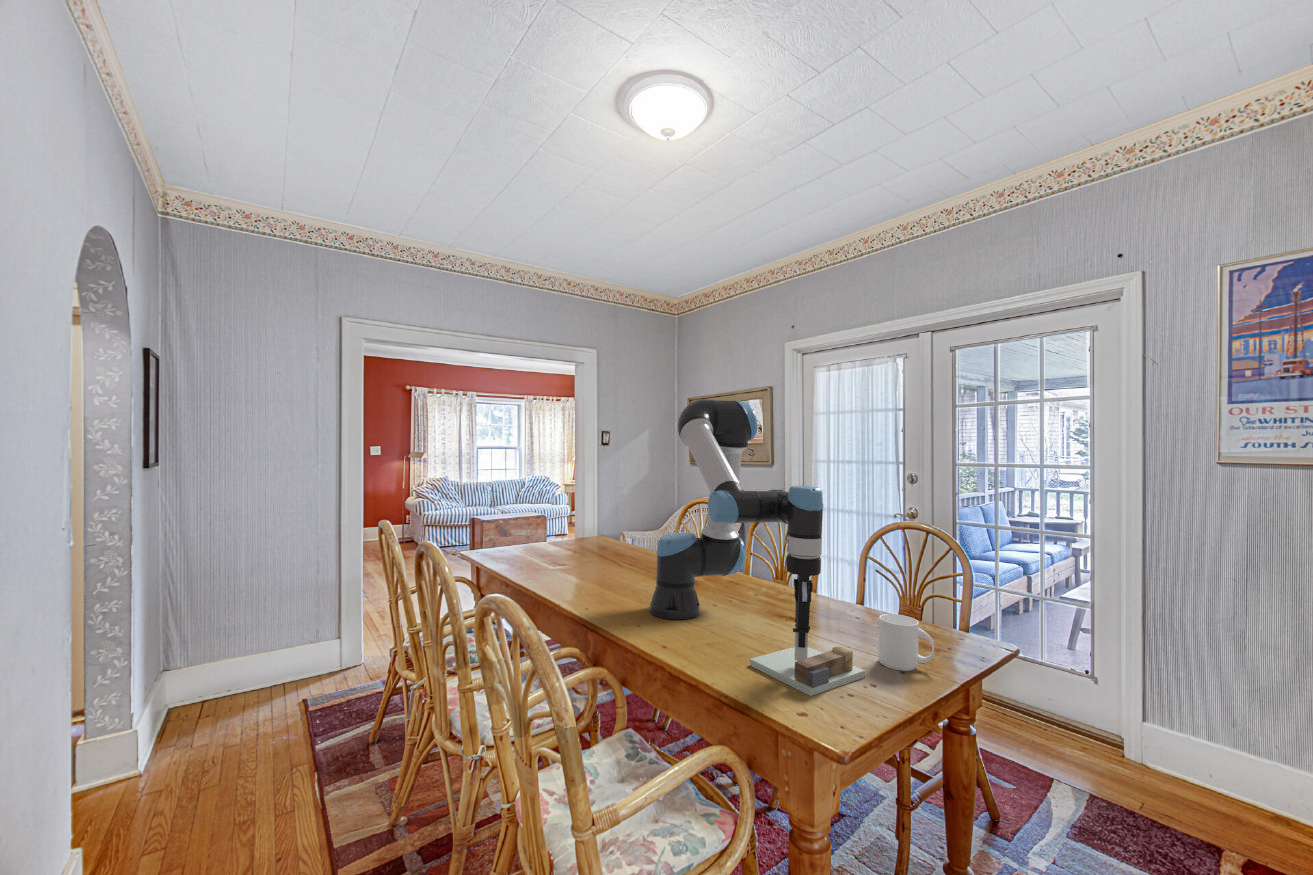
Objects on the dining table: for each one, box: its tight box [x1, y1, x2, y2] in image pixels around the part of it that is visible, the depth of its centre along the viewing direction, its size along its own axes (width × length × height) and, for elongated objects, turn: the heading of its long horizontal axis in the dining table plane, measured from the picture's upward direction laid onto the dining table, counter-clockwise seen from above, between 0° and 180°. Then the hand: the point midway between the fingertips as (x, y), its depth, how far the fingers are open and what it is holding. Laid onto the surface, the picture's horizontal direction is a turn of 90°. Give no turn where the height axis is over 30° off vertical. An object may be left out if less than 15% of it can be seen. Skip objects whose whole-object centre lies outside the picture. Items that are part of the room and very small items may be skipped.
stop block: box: [807, 666, 829, 688], centre depth 115 cm, size 1×5×3 cm, turn 124°
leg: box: [794, 646, 854, 684], centre depth 121 cm, size 16×4×4 cm, turn 125°
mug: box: [877, 613, 935, 672], centre depth 130 cm, size 9×12×11 cm
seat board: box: [749, 646, 866, 697], centre depth 126 cm, size 18×18×2 cm
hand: (800, 659), depth 124 cm, fingers closed
